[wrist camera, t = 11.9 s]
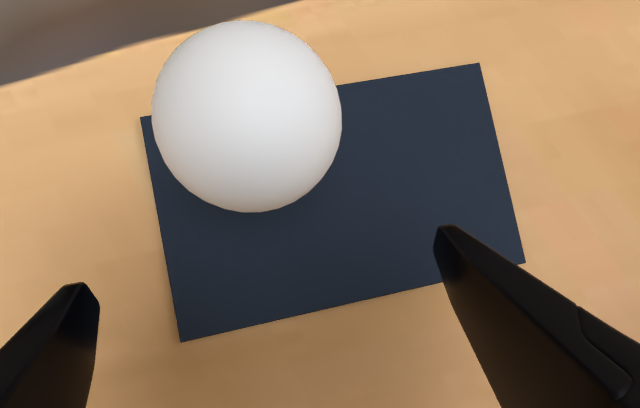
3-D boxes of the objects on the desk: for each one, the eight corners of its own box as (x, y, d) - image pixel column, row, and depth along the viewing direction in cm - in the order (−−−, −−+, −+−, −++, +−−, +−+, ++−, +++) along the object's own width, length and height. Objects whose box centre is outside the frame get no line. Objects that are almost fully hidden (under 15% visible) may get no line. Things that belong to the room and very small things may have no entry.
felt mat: (181, 341, 20) (180, 342, 19) (141, 118, 20) (139, 117, 20) (522, 262, 22) (526, 262, 22) (477, 64, 23) (479, 62, 22)
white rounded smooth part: (269, 87, 21) (258, -72, 10) (340, 172, 21) (405, 105, 10) (180, 156, 20) (62, 64, 9) (254, 244, 20) (223, 256, 9)
